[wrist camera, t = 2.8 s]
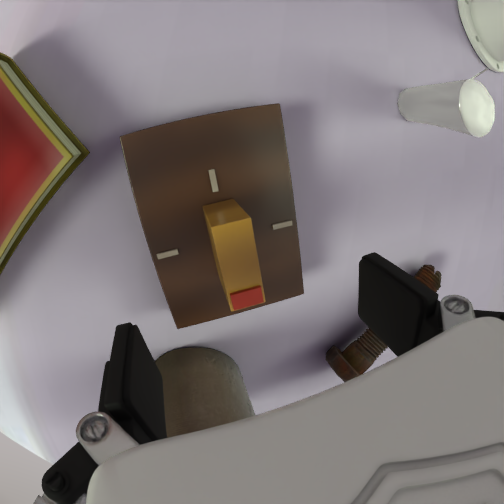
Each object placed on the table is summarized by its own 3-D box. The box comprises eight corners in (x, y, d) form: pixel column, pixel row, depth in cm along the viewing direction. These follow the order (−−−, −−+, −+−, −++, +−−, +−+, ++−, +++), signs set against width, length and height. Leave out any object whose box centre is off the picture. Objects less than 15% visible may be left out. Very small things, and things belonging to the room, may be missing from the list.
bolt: (414, 263, 31) (328, 355, 32) (417, 247, 27) (318, 354, 28) (449, 294, 28) (360, 390, 29) (457, 282, 24) (355, 394, 25)
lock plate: (127, 136, 18) (118, 136, 15) (266, 107, 19) (280, 102, 17) (176, 308, 24) (177, 330, 21) (290, 276, 25) (305, 294, 22)
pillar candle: (126, 373, 25) (123, 516, 12) (207, 328, 25) (248, 485, 12) (185, 419, 29) (207, 535, 16) (258, 383, 29) (308, 504, 16)
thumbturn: (202, 205, 18) (211, 228, 14) (233, 198, 18) (252, 218, 14) (218, 275, 20) (232, 314, 16) (246, 268, 20) (267, 304, 16)
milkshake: (414, 71, 21) (499, 67, 12) (429, 122, 23) (512, 134, 14) (383, 78, 20) (473, 70, 11) (399, 133, 23) (488, 147, 14)
